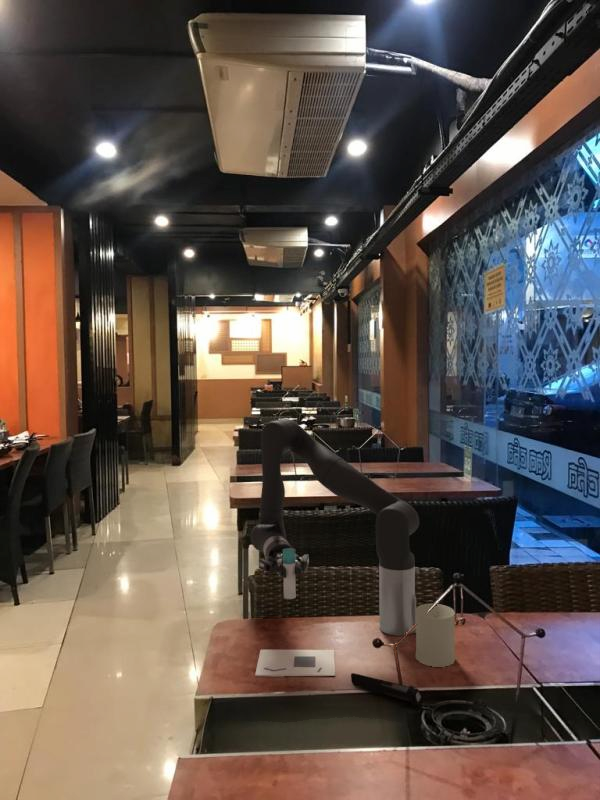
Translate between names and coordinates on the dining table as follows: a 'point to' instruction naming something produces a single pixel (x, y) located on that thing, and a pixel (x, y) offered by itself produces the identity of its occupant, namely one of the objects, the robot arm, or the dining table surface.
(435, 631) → the can
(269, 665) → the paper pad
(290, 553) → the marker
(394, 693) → the electric trimmer
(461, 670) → the dining table surface
